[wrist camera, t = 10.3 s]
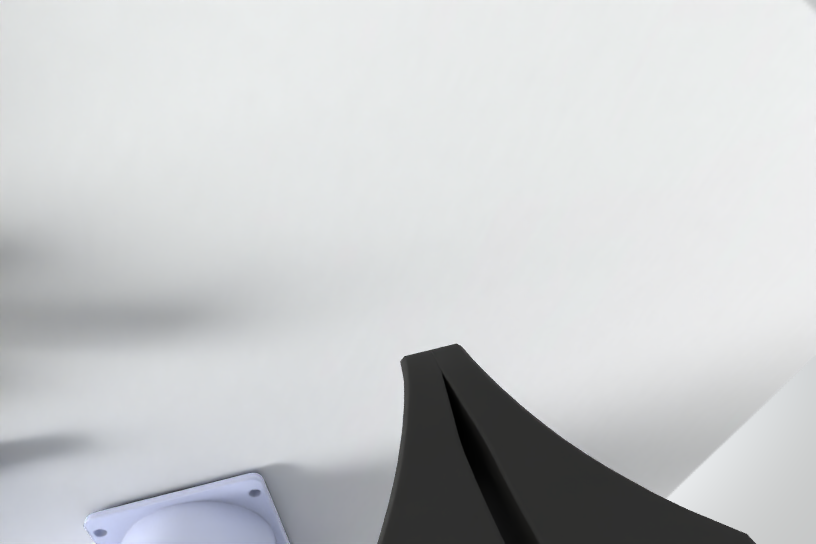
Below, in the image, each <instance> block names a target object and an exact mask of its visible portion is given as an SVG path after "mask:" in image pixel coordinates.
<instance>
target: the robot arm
mask: <svg viewBox="0 0 816 544" xmlns="http://www.w3.org/2000/svg"><path fill="white" fill-rule="evenodd" d="M400 362H401V367H402V372H403V378H404V414H403V428H402V436H401V443H400V450H399V457H398V463H397V468H396V474H395V479H394V483H393V488H392V492H391V496H390V501H389V504H388V508H387V512H386V515H385V519H384V523H383V526H382V530H381V533H380V536H379V540H378V543H377V544H756V543H755V542H754V541H753V540H752V539H751V538H750V537H749V536H748V535H747V534H745V533H743V532H740V531H738V530H735V529H733V528H731V527H729V526H726V525H724V524H721V523H719V522H717V521H714V520H712V519H709V518H707V517H704V516H702V515H700V514H697V513H695V512H692V511H690V510H688V509H686V508H683V507H681V506H679V505H677V504H675V503H673V502H671V501H669V500H667V499H665V498H663V497H661V496H659V495H656V494H654V493H653V492H651V491H649V490H647V489H645V488H644V487H642V486H640V485H638V484H636V483H635V482H633V481H631V480H629V479H627V478H625V477H624V476H622V475H620V474H618V473H616V472H615V471H613V470H611V469H609V468H608V467H606V466H604V465H603V464H601V463H600V462H598V461H596V460H595V459H593V458H592V457H590V456H588V455H587V454H585V453H584V452H582V451H581V450H579V449H578V448H576V447H575V446H573V445H572V444H570V443H569V442H568V441H566V440H565V439H563V438H562V437H561V436H559V435H558V434H556V433H555V432H554V431H552V430H551V429H550V428H548V427H547V426H546V425H545V424H543V423H542V422H541V421H540V420H538V419H537V418H536V417H534V416H533V415H532V414H531V413H529V412H528V411H527V410H526V409H525V408H524V407H522V406H521V405H520V404H519V403H518V402H517V401H515V400H514V399H513V398H512V397H511V396H510V395H509V394H508V393H507V392H505V391H504V390H503V389H502V388H501V387H500V386H499V385H498V384H497V383H496V382H495V381H494V380H493V379H492V378H491V377H490V376H489V375H488V374H487V373H486V372H485V371H484V370H483V369H482V368H481V367H480V366H479V365H478V364H477V363H476V362H475V361H474V360H473V359H472V358H471V357H470V355H469V354H468V353H467V352H466V351H465V350H464V349H463V347H462V346H460V345H458V344H453V345H449V346H445V347H441V348H437V349H433V350H429V351H424V352H420V353H416V354H412V355H408V356H404V358H403V359H402V360H401V361H400ZM255 489H257V490H255ZM84 528H85V530H86V531H87V532H88V534H89V535H90V536H91V538H92V539H93V541H94V542H95V543H96V544H290V542H289V540H288V537H287V535H286V532H285V530H284V528H283V525H282V523H281V520H280V518H279V515H278V513H277V511H276V508H275V506H274V503H273V501H272V498H271V496H270V494H269V491H268V489H267V486H266V484H265V481H264V479H263V477H262V476H261V475H260V474H258V473H248V474H244V475H240V476H236V477H232V478H228V479H224V480H220V481H216V482H212V483H208V484H204V485H201V486H197V487H193V488H189V489H185V490H181V491H177V492H173V493H169V494H165V495H161V496H157V497H153V498H149V499H145V500H141V501H137V502H133V503H129V504H125V505H121V506H118V507H114V508H110V509H106V510H102V511H98V512H94V513H91V514H89V515H88V516H87V517H86V520H85V523H84Z"/></svg>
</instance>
